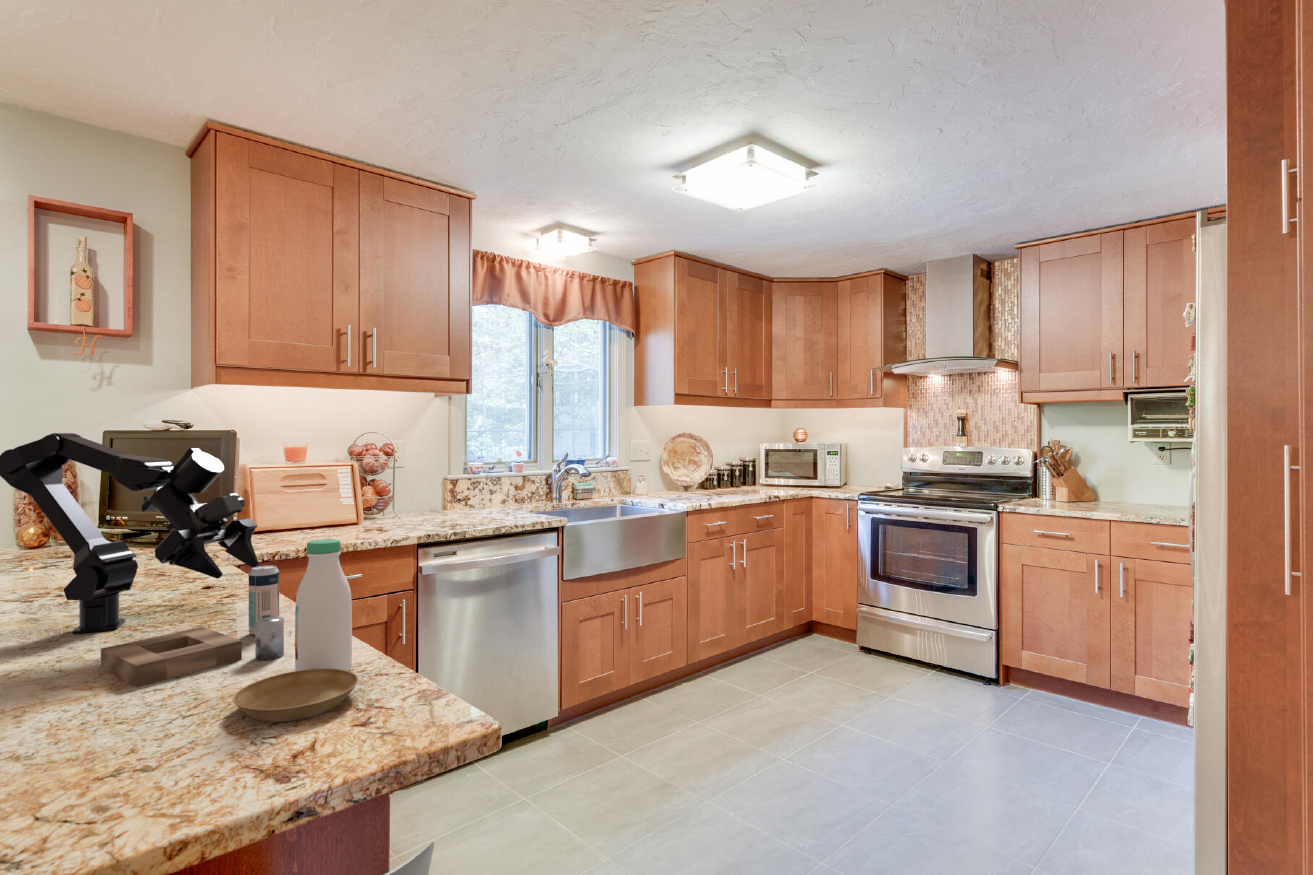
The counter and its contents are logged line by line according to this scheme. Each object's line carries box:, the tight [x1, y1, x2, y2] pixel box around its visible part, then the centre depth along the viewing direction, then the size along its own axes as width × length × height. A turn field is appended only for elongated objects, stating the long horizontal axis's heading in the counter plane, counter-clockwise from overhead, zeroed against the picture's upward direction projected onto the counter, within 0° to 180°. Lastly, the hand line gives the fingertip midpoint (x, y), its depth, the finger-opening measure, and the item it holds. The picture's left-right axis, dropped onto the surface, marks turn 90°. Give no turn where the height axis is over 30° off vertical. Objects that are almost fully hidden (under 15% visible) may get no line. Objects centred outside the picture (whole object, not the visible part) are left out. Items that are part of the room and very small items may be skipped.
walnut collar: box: [100, 626, 243, 687], centre depth 104 cm, size 14×14×3 cm
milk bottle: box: [294, 538, 353, 671], centre depth 100 cm, size 8×8×20 cm
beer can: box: [248, 564, 280, 637], centre depth 121 cm, size 5×5×12 cm
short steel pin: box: [254, 616, 285, 662], centre depth 108 cm, size 4×4×6 cm
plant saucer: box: [232, 669, 360, 723], centre depth 88 cm, size 15×15×3 cm
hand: (239, 571), depth 121 cm, fingers open, 9 cm apart
